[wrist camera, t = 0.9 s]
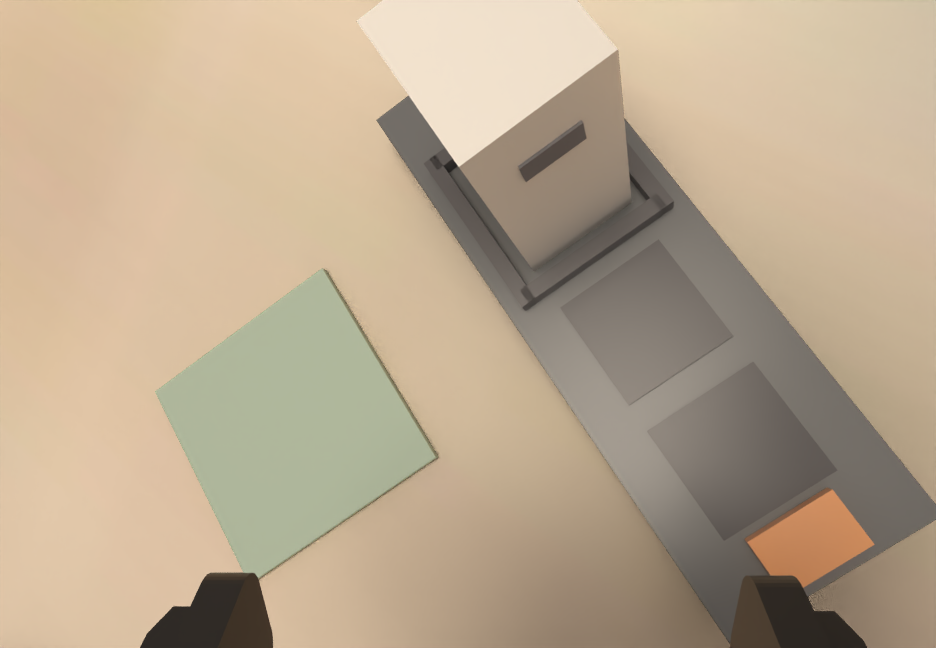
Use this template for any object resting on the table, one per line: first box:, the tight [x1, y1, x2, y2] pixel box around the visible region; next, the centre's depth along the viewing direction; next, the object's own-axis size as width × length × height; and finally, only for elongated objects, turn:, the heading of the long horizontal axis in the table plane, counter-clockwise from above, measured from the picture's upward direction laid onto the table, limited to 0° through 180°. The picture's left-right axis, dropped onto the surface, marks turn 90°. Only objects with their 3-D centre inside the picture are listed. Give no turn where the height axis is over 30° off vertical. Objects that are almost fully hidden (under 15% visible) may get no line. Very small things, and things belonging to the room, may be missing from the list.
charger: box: [357, 0, 632, 271], centre depth 22 cm, size 5×4×11 cm
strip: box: [377, 96, 936, 643], centre depth 29 cm, size 38×8×3 cm, turn 33°
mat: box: [155, 268, 438, 579], centre depth 31 cm, size 10×10×1 cm
